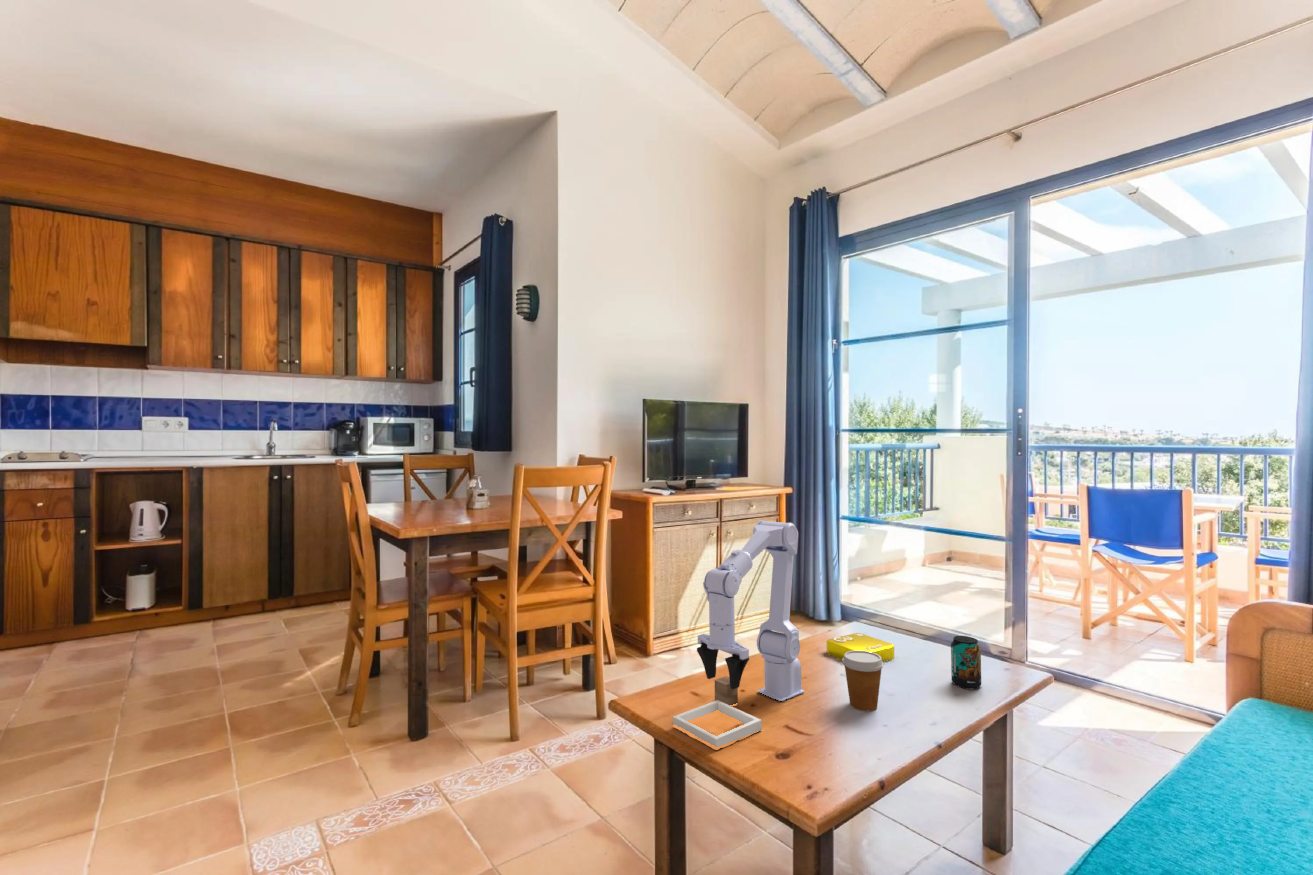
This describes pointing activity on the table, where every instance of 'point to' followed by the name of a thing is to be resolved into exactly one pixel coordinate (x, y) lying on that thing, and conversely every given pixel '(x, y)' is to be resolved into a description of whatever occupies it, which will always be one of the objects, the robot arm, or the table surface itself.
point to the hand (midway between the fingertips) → (722, 682)
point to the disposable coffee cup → (863, 678)
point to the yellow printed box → (859, 646)
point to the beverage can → (966, 662)
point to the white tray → (748, 728)
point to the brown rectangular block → (725, 691)
